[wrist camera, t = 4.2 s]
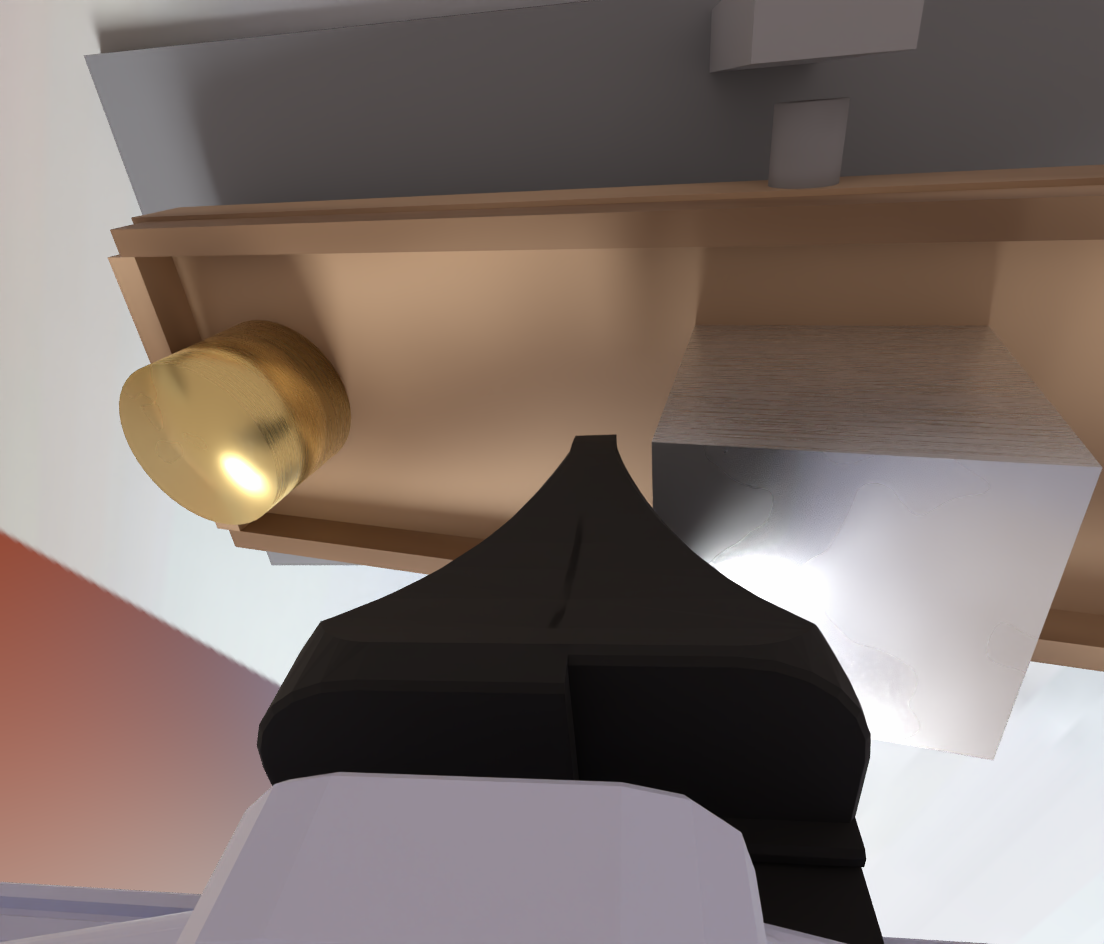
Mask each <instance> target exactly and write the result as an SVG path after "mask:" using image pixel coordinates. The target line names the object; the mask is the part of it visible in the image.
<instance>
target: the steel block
mask: <svg viewBox="0 0 1104 944" xmlns="http://www.w3.org/2000/svg"><path fill="white" fill-rule="evenodd" d="M1101 470H1102V466H1101V465H1100V464H1099V463H1098V461H1097V460H1096V459H1095V458H1094V456H1093V455H1092V454H1091V453H1090V451H1089V450H1088V449H1087V448H1086V446H1085V445H1084V444H1083V443H1082V441H1081V440H1080V439H1079V438H1078V436H1077V435H1076V434H1075V433H1074V431H1073V430H1072V429H1071V428H1070V426H1069V425H1068V424H1067V423H1066V421H1065V420H1064V419H1063V418H1062V416H1061V415H1060V414H1059V413H1058V412H1057V410H1056V409H1055V408H1054V407H1053V405H1052V404H1051V403H1050V402H1049V400H1048V399H1047V398H1046V397H1045V395H1044V394H1043V393H1042V392H1041V390H1040V389H1039V388H1038V387H1037V385H1036V384H1035V383H1034V382H1033V380H1032V379H1031V378H1030V377H1029V375H1028V374H1027V373H1026V372H1025V370H1024V369H1023V368H1022V367H1021V365H1020V364H1019V363H1018V362H1017V360H1016V359H1015V358H1014V357H1013V355H1012V354H1011V353H1010V352H1009V350H1008V349H1007V348H1006V347H1005V345H1004V344H1003V343H1002V342H1001V340H1000V339H999V338H998V337H997V336H996V334H995V333H994V332H993V331H992V329H991V328H990V327H989V326H894V325H695V326H694V329H693V332H692V334H691V337H690V340H689V342H688V345H687V348H686V351H685V353H684V356H683V359H682V361H681V364H680V367H679V369H678V372H677V375H676V378H675V380H674V383H673V386H672V388H671V391H670V394H669V396H668V399H667V402H666V404H665V407H664V410H663V413H662V415H661V418H660V421H659V423H658V426H657V429H656V431H655V434H654V437H653V440H652V491H653V509H654V511H655V512H656V513H657V514H658V516H659V517H660V518H661V519H662V520H663V521H664V523H665V524H666V525H667V526H668V527H669V528H670V529H671V530H672V531H673V532H674V533H675V534H676V535H677V536H678V537H679V538H680V539H681V540H682V541H683V542H684V543H685V544H686V545H687V546H688V547H689V548H690V549H691V550H692V551H693V552H695V553H696V554H697V555H698V556H700V557H701V558H702V559H703V560H705V561H706V562H707V563H709V564H710V565H711V566H713V567H714V568H715V569H717V570H718V571H719V572H721V573H722V574H724V575H725V576H727V577H728V578H729V579H731V580H733V581H734V582H736V583H738V584H739V585H741V586H743V587H744V588H746V589H747V590H749V591H751V592H752V593H754V594H756V595H757V596H759V597H761V598H763V599H765V600H767V601H769V602H771V603H773V604H775V605H777V606H779V607H781V608H783V609H785V610H787V611H790V612H792V613H794V614H796V615H798V616H800V617H802V618H804V619H806V620H808V621H810V622H812V623H814V624H816V625H817V626H818V628H819V629H820V631H821V632H822V634H823V636H824V637H825V639H826V640H827V642H828V644H829V645H830V647H831V649H832V650H833V652H834V654H835V655H836V657H837V659H838V660H839V662H840V664H841V666H842V668H843V669H844V671H845V673H846V675H847V677H848V678H849V680H850V682H851V684H852V686H853V688H854V690H855V693H856V695H857V697H858V699H859V701H860V704H861V706H862V709H863V712H864V714H865V718H866V722H867V725H868V728H869V730H870V733H871V739H876V740H881V741H887V742H893V743H899V744H904V745H910V746H916V747H921V748H927V749H933V750H938V751H944V752H950V753H955V754H961V755H967V756H972V757H978V758H984V759H989V760H993V759H994V757H995V754H996V751H997V749H998V746H999V743H1000V741H1001V738H1002V735H1003V733H1004V730H1005V727H1006V725H1007V722H1008V719H1009V717H1010V714H1011V711H1012V708H1013V706H1014V703H1015V700H1016V698H1017V695H1018V692H1019V690H1020V687H1021V684H1022V682H1023V679H1024V676H1025V674H1026V671H1027V668H1028V666H1029V663H1030V660H1031V658H1032V655H1033V652H1034V650H1035V647H1036V644H1037V642H1038V639H1039V636H1040V633H1041V631H1042V628H1043V625H1044V623H1045V620H1046V617H1047V615H1048V612H1049V609H1050V607H1051V604H1052V601H1053V599H1054V596H1055V593H1056V591H1057V588H1058V585H1059V583H1060V580H1061V577H1062V575H1063V572H1064V569H1065V566H1066V564H1067V561H1068V558H1069V556H1070V553H1071V550H1072V548H1073V545H1074V542H1075V540H1076V537H1077V534H1078V532H1079V529H1080V526H1081V524H1082V521H1083V518H1084V516H1085V513H1086V510H1087V508H1088V505H1089V502H1090V499H1091V497H1092V494H1093V491H1094V489H1095V486H1096V483H1097V481H1098V478H1099V475H1100V473H1101Z"/></svg>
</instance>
